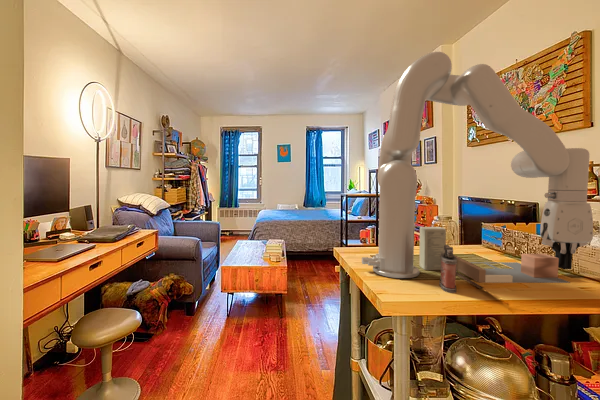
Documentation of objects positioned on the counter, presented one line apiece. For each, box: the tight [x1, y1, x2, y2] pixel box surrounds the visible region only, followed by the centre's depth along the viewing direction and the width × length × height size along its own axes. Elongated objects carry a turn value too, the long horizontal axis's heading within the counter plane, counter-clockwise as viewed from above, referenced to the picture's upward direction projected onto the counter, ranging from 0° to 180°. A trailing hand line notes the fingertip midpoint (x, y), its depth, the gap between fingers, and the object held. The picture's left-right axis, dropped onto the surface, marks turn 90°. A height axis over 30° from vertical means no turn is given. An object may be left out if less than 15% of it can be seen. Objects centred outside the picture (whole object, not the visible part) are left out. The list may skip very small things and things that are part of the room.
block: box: [520, 253, 559, 278], centre depth 77 cm, size 6×4×5 cm
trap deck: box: [453, 254, 571, 289], centre depth 81 cm, size 22×18×4 cm
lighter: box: [439, 244, 458, 294], centre depth 73 cm, size 8×3×10 cm, turn 163°
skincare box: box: [418, 226, 447, 271], centre depth 88 cm, size 6×4×12 cm
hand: (562, 267), depth 77 cm, fingers closed
